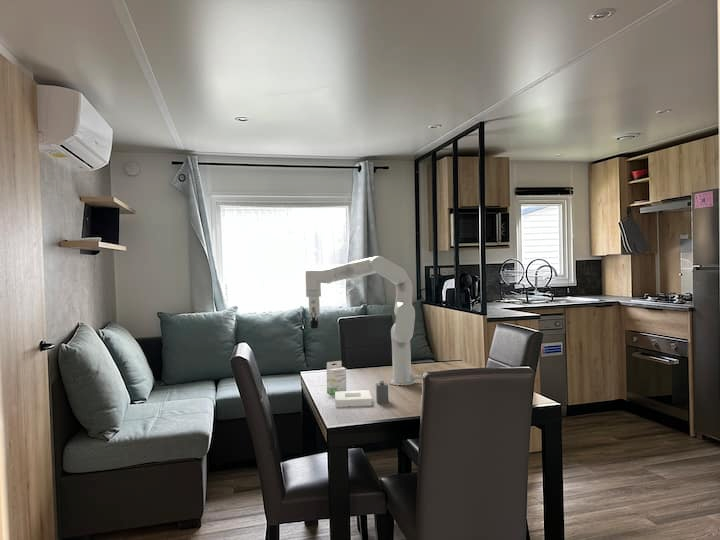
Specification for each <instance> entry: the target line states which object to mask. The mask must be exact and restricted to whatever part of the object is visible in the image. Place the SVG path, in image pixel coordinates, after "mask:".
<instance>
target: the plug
mask: <svg viewBox="0 0 720 540" xmlns="http://www.w3.org/2000/svg"><path fill="white" fill-rule="evenodd" d="M375 398H376V399H375V400H376V403H377V405H378V404H379V403H380V404H379V405H382V403H384V404H389V403H390V402H389V384H388V383H387V382H385V381H384V379H380V380H379V382H375Z"/></svg>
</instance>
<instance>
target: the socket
mask: <svg viewBox="0 0 720 540" xmlns="http://www.w3.org/2000/svg"><path fill="white" fill-rule="evenodd" d="M334 401H335V402H334V403H335V408H344V407H346V408H348V406H351V407H367V406H371V405H372V406H373V397H372V394H371V392H370V389H362V390H360V389H359V390H346V391H336V392H335V394H334ZM372 406H371V407H372Z"/></svg>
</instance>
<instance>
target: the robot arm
mask: <svg viewBox="0 0 720 540" xmlns="http://www.w3.org/2000/svg"><path fill="white" fill-rule="evenodd" d="M374 274H378V275H380V276H382V277H383V278H385V279H387V280H389V281H390V282H391V283H393V284H394V286H395V302H394V309H393V313H394V316H395V323H393V325H392V327H391V329H390V337H391V356H392V379H391V380H390V381H389V383H390V385H392V386H393V385H394V386H399V385H401V387H402V386H403V385H404V386H411V385H415V383H416V382H415V380H421V378H422V377H421V375H417V374H415V375H413V373H412V361H411V360H412V357H411V356H412V354H411V353H412V351H411V339H412V338H413V335H414V332H415V331H414V330H415V329H414V328H415V321H416V311H415V307H414V305H413V292H414V291H413V284H412V280H411V279H410V277H409V276H408V274H407V272H406V270H405V269H404V268H403V267H401V266H399V265H397V264H396V263H394V262H392V261H390V260H389V259H387V258H385V257H383V256H382V255H377V256H376V255H375V256H372V257H367V258H363V259H360V260H359V259H358V260H354V261H351V262H348V263H345V264H342V265H337V266H333V267H329V268H325V269H307V270H305V297H306V298H308V311H309V316H310V329H318V326H319V318H318V317H319V316H320V315H321V311H320V308H321V307H320V297H321V296H322V291H321V290H322V289H321V288H322V287H321V286H322V285H321V283H322V284H332V283H333V282H335V283H336V282H338V281H342V280H348V279H357V278H362V277H364V276H369V275H374Z"/></svg>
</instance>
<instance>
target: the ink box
mask: <svg viewBox="0 0 720 540" xmlns="http://www.w3.org/2000/svg"><path fill="white" fill-rule="evenodd" d="M342 363H343V362H342V360H336V361H327V362H326V393H327V394H330V395H333V394H334V395H335V392H336V391H347V368H346V367H344V366H342ZM333 364H334V365H333Z"/></svg>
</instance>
